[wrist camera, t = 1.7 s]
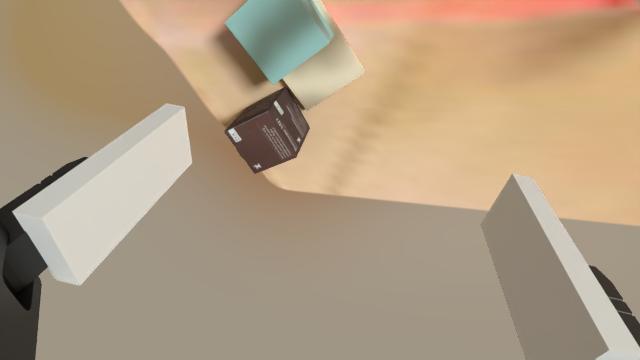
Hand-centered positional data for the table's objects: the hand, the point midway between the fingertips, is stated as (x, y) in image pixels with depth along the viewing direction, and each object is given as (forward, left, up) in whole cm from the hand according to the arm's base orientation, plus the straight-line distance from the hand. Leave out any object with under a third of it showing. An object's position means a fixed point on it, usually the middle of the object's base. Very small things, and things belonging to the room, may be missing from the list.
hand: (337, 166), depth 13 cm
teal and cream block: (-3, -6, -24) cm, 25 cm away
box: (+2, -14, -25) cm, 29 cm away
